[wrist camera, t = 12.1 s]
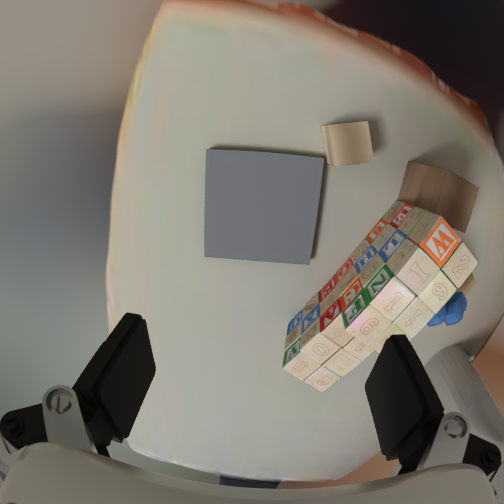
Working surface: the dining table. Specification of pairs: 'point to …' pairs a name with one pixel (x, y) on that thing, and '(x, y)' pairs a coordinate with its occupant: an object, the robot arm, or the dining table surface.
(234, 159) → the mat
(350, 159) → the maple cube
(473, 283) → the oak cube
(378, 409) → the robot arm
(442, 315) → the grapes
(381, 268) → the stack of blocks
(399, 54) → the dining table surface
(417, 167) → the walnut block
